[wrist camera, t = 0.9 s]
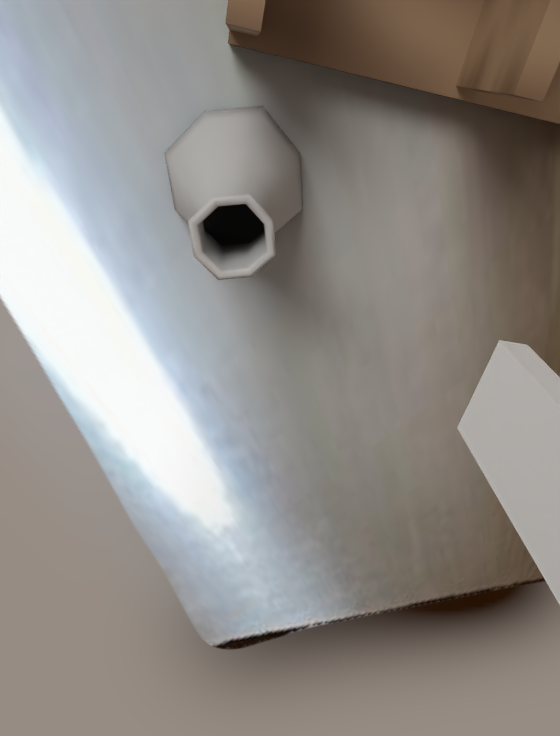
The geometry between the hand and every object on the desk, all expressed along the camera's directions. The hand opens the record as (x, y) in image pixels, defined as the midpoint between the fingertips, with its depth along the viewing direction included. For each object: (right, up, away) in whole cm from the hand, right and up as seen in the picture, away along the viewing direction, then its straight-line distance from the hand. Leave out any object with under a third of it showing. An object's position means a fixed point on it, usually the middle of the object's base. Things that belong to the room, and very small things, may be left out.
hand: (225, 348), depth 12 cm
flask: (-1, +10, +15) cm, 18 cm away
